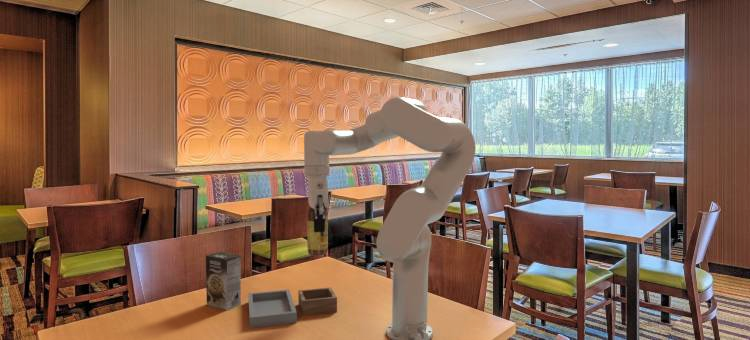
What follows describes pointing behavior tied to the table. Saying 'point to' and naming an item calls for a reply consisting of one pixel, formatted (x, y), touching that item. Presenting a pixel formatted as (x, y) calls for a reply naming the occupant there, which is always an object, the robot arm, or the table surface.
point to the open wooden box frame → (317, 301)
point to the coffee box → (223, 280)
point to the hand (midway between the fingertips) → (317, 228)
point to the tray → (271, 308)
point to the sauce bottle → (316, 235)
